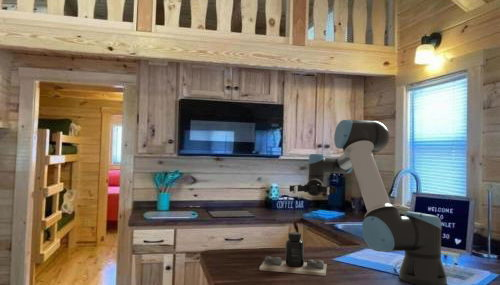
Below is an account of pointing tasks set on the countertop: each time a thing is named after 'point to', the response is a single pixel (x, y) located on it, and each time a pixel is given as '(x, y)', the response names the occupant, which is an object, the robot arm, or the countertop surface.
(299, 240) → the supplement bottle
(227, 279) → the countertop surface
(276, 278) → the countertop surface
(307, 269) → the cream base tray
